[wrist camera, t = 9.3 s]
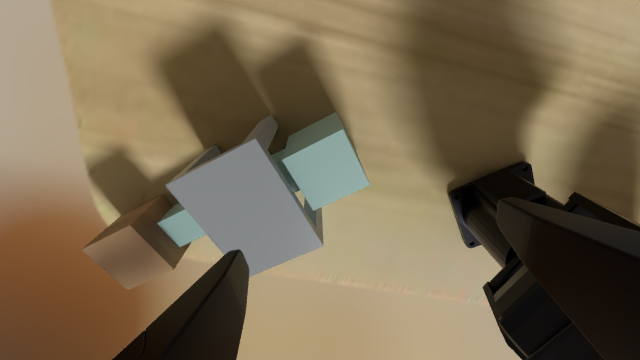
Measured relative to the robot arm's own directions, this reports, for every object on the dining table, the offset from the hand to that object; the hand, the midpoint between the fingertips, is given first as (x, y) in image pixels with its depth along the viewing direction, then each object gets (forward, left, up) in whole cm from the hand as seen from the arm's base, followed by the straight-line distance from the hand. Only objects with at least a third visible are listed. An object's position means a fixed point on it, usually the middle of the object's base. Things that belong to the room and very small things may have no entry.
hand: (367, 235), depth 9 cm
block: (0, +17, -12) cm, 21 cm away
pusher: (0, +7, -12) cm, 14 cm away
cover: (0, +7, -12) cm, 14 cm away
